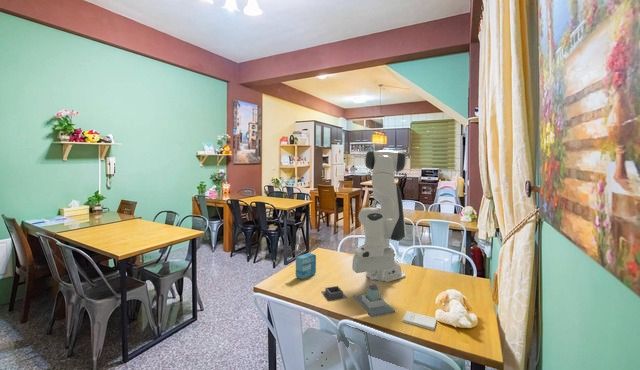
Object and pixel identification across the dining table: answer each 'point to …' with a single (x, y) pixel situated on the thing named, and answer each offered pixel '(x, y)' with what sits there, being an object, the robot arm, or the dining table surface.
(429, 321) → the external hard drive
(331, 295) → the dark grey square box
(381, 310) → the dock
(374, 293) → the plug
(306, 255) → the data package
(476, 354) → the dining table surface
